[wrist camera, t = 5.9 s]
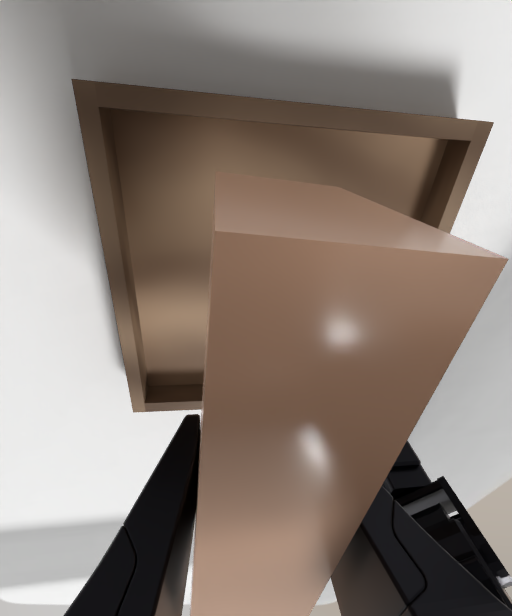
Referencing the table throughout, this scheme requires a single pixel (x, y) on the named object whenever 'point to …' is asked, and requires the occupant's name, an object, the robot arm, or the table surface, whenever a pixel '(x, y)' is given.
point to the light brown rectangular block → (313, 378)
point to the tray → (200, 198)
